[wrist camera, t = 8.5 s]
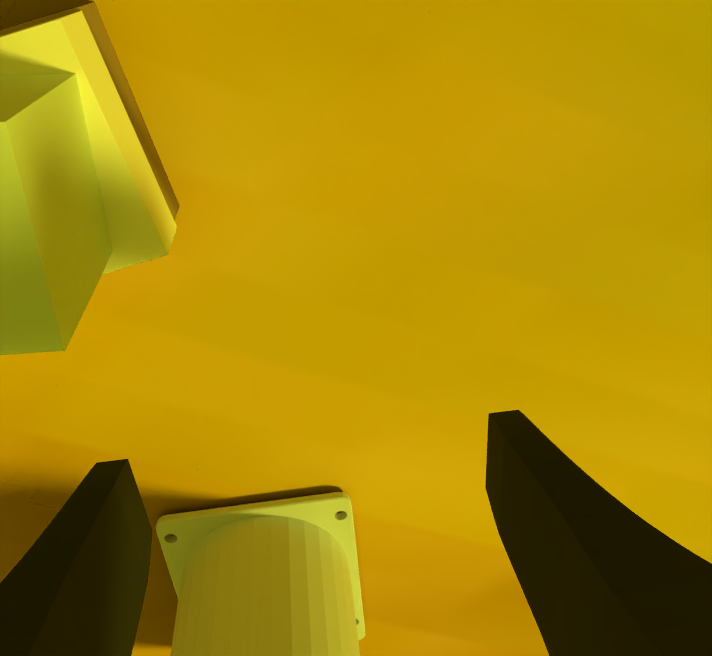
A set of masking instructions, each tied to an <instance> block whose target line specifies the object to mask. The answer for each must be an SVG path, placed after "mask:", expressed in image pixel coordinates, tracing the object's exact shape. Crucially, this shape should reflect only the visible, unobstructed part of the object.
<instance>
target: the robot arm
mask: <svg viewBox="0 0 712 656" xmlns="http://www.w3.org/2000/svg"><path fill="white" fill-rule="evenodd" d="M486 491H487V494H488V498H489V501H490V505H491V509H492V512H493V516H494V519H495V522H496V526H497V529H498V532H499V535H500V537H501V540H502V542H503V545H504V547H505V550H506V552H507V554H508V557H509V559H510V561H511V564H512V566H513V569H514V571H515V573H516V576H517V578H518V580H519V583H520V585H521V587H522V590H523V592H524V594H525V597H526V599H527V601H528V604H529V606H530V609H531V611H532V613H533V616H534V618H535V620H536V623H537V625H538V627H539V630H540V632H541V635H542V637H543V640H544V643H545V645H546V648H547V650H548V653H549V656H712V564H711V563H709V562H708V561H706V560H704V559H703V558H701V557H699V556H697V555H696V554H694V553H693V552H691V551H689V550H688V549H686V548H685V547H683V546H681V545H680V544H678V543H677V542H675V541H674V540H672V539H671V538H669V537H668V536H666V535H665V534H663V533H662V532H660V531H659V530H658V529H656V528H655V527H653V526H652V525H650V524H649V523H647V522H646V521H644V520H643V519H642V518H640V517H639V516H638V515H636V514H635V513H634V512H632V511H631V510H630V509H629V508H627V507H626V506H625V505H624V504H622V503H621V502H620V501H618V500H617V499H616V498H615V497H613V496H612V495H611V494H610V493H608V492H607V491H606V490H605V489H604V488H602V487H601V486H600V485H599V484H598V483H597V482H595V481H594V480H593V479H592V478H591V477H590V476H589V475H587V474H586V473H585V472H584V471H583V470H582V469H581V468H580V467H578V466H577V465H576V464H575V463H574V462H573V461H572V460H571V459H569V458H568V457H567V456H566V455H565V454H564V453H563V452H562V451H561V450H560V449H559V448H558V447H557V446H556V445H555V444H554V443H552V442H551V441H550V440H549V439H548V438H547V437H546V436H545V435H544V434H543V433H542V432H541V431H540V430H539V429H538V428H537V427H536V426H535V425H534V424H533V423H532V422H531V421H530V420H529V419H528V418H527V417H526V416H525V415H524V414H523V413H522V412H520V411H519V410H513V411H505V412H497V413H489V419H488V442H487V465H486ZM339 511H344V512H342V513H337V512H339ZM156 533H157V536H158V539H159V542H160V545H161V548H162V551H163V555H164V558H165V561H166V564H167V567H168V570H169V573H170V576H171V579H172V583H173V586H174V589H175V592H176V595H177V598H178V605H177V612H176V619H175V626H174V633H173V640H172V648H171V655H170V656H360V650H359V642H358V641H359V640H361V639H363V638H364V636H365V625H364V616H363V606H362V597H361V587H360V578H359V569H358V559H357V550H356V540H355V531H354V522H353V512H352V503H351V498H350V496H349V495H348V494H347V493H344V492H334V493H326V494H319V495H311V496H304V497H296V498H289V499H281V500H274V501H266V502H259V503H251V504H244V505H237V506H229V507H222V508H214V509H207V510H199V511H192V512H184V513H177V514H169V515H164V516H162V517H160V518H159V519H158V521H157V524H156ZM168 534H173V535H174V536H170V535H168ZM151 540H152V529H151V526H150V523H149V520H148V517H147V514H146V511H145V508H144V505H143V502H142V499H141V496H140V493H139V491H138V488H137V485H136V482H135V479H134V476H133V473H132V470H131V467H130V464H129V461H128V459H123V460H115V461H107V462H99V463H96V464H95V465H94V467H93V468H92V469H91V470H90V472H89V473H88V474H87V475H86V477H85V478H84V479H83V481H82V482H81V483H80V485H79V486H78V487H77V489H76V490H75V491H74V493H73V494H72V495H71V497H70V498H69V499H68V501H67V502H66V503H65V505H64V506H63V507H62V509H61V510H60V511H59V512H58V514H57V515H56V516H55V518H54V519H53V520H52V522H51V523H50V524H49V525H48V527H47V528H46V529H45V530H44V532H43V533H42V534H41V535H40V537H39V538H38V539H37V540H36V542H35V543H34V544H33V546H32V547H31V548H30V549H29V551H28V552H27V553H26V554H25V555H24V557H23V558H22V559H21V560H20V561H19V562H18V564H17V565H16V566H15V567H14V568H13V569H12V570H11V572H10V573H9V574H8V575H7V576H6V577H5V579H4V580H3V581H2V582H1V583H0V656H131V654H132V649H133V645H134V640H135V636H136V632H137V627H138V623H139V618H140V614H141V609H142V604H143V600H144V595H145V591H146V586H147V581H148V572H149V563H150V552H151Z"/></svg>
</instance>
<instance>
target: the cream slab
mask: <svg viewBox="0 0 712 656" xmlns="http://www.w3.org/2000/svg"><path fill="white" fill-rule="evenodd" d="M34 74H76V76H77V81H78V86H79V91H80V96H81V100H82V105H83V110H84V115H85V120H86V125H87V130H88V135H89V140H90V144H91V149H92V154H93V159H94V164H95V169H96V174H97V179H98V184H99V189H100V194H101V199H102V204H103V208H104V213H105V218H106V223H107V228H108V233H109V238H110V243H111V248H112V254H111V257H110V259H109V261H108V263H107V265H106V267H105V269H104V271H103V273H102V274H105V273H108V272H112V271H115V270H118V269H122V268H125V267H128V266H132V265H135V264H138V263H142V262H145V261H149V260H152V259H155V258H159V257H162V256H165V255H168V253H169V250H170V247H171V244H172V241H173V238H174V235H175V232H176V229H177V226H176V223H175V221H174V219H173V217H172V214H171V212H170V210H169V208H168V205H167V203H166V201H165V198H164V196H163V194H162V192H161V189H160V187H159V185H158V183H157V180H156V178H155V176H154V174H153V171H152V169H151V167H150V164H149V162H148V160H147V158H146V155H145V153H144V151H143V149H142V146H141V144H140V142H139V139H138V137H137V135H136V133H135V130H134V128H133V126H132V124H131V121H130V119H129V117H128V115H127V112H126V110H125V108H124V105H123V103H122V101H121V99H120V96H119V94H118V92H117V90H116V87H115V85H114V83H113V81H112V78H111V76H110V74H109V71H108V69H107V67H106V65H105V62H104V60H103V58H102V56H101V53H100V51H99V49H98V46H97V44H96V42H95V40H94V37H93V35H92V33H91V31H90V28H89V26H88V24H87V22H86V19H85V17H84V15H83V12H82V11H79V12H76V13H72V14H69V15H66V16H63V17H60V18H57V19H53V20H50V21H47V22H44V23H41V24H37V25H34V26H31V27H28V28H25V29H22V30H18V31H15V32H12V33H9V34H6V35H3V36H0V75H34Z"/></svg>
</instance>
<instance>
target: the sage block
mask: <svg viewBox="0 0 712 656" xmlns="http://www.w3.org/2000/svg"><path fill="white" fill-rule="evenodd" d="M111 254H112V248H111V243H110V238H109V233H108V228H107V223H106V218H105V213H104V208H103V204H102V199H101V194H100V189H99V184H98V179H97V174H96V169H95V164H94V159H93V154H92V149H91V144H90V140H89V135H88V130H87V125H86V120H85V115H84V110H83V105H82V100H81V96H80V91H79V86H78V81H77V76H76V74H34V75H0V355H7V354H22V353H36V352H51V351H65V349H66V347H67V345H68V343H69V341H70V339H71V337H72V335H73V333H74V331H75V329H76V327H77V325H78V323H79V321H80V319H81V316H82V314H83V312H84V310H85V308H86V306H87V304H88V302H89V300H90V298H91V296H92V294H93V292H94V290H95V288H96V285H97V283H98V281H99V279H100V277H101V275H102V273H103V271H104V269H105V267H106V265H107V263H108V261H109V259H110V257H111Z"/></svg>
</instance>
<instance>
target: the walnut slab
mask: <svg viewBox="0 0 712 656" xmlns="http://www.w3.org/2000/svg"><path fill="white" fill-rule="evenodd" d="M79 11H82V12H83V15H84V17H85V19H86V22H87V24H88V26H89V28H90V31H91V33H92V35H93V37H94V40H95V42H96V44H97V46H98V49H99V51H100V53H101V56H102V58H103V60H104V62H105V65H106V67H107V69H108V71H109V74H110V76H111V78H112V81H113V83H114V85H115V87H116V90H117V92H118V94H119V96H120V99H121V101H122V103H123V105H124V108H125V110H126V112H127V115H128V117H129V119H130V121H131V124H132V126H133V128H134V130H135V133H136V135H137V137H138V139H139V142H140V144H141V146H142V149H143V151H144V153H145V155H146V158H147V160H148V162H149V164H150V167H151V169H152V171H153V174H154V176H155V178H156V180H157V183H158V185H159V187H160V189H161V192H162V194H163V196H164V198H165V201H166V203H167V205H168V208H169V210H170V212H171V214H172V217H173V219H174V220H175V217H176V214H177V212H178V209H179V204H178V201H177V199H176V196H175V194H174V192H173V189H172V187H171V184H170V182H169V180H168V177H167V175H166V172H165V170H164V168H163V165H162V163H161V160H160V158H159V156H158V153H157V151H156V148H155V146H154V144H153V141H152V139H151V136H150V134H149V132H148V129H147V127H146V125H145V122H144V120H143V117H142V115H141V113H140V110H139V108H138V105H137V103H136V101H135V98H134V96H133V93H132V91H131V89H130V86H129V84H128V81H127V79H126V77H125V74H124V72H123V69H122V67H121V65H120V62H119V60H118V57H117V55H116V53H115V50H114V48H113V45H112V43H111V41H110V38H109V36H108V33H107V31H106V29H105V26H104V24H103V21H102V19H101V17H100V14H99V12H98V9H97V7H96V5H95V2H92V3H88V4H85V5H82V6H78V7H75V8H72V9H68V10H65V11H62V12H58V13H55V14H52V15H48V16H45V17H42V18H38V19H35V20H32V21H28V22H25V23H22V24H18V25H15V26H12V27H8V28H5V29H2V30H0V36H3V35H6V34H9V33H12V32H15V31H18V30H22V29H25V28H28V27H31V26H34V25H37V24H41V23H44V22H47V21H50V20H53V19H57V18H60V17H63V16H66V15H69V14H72V13H76V12H79Z"/></svg>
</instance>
